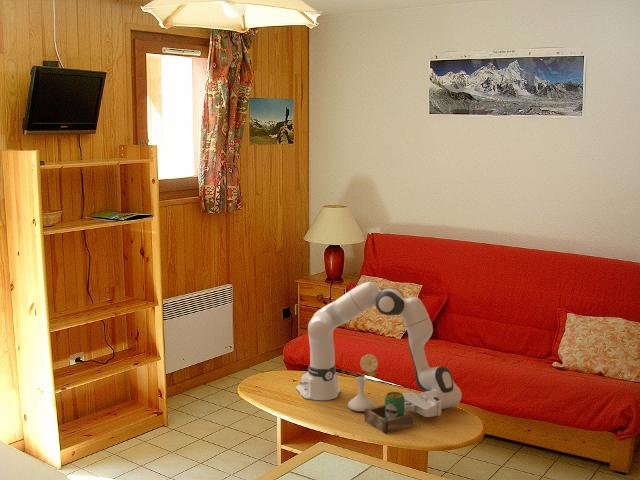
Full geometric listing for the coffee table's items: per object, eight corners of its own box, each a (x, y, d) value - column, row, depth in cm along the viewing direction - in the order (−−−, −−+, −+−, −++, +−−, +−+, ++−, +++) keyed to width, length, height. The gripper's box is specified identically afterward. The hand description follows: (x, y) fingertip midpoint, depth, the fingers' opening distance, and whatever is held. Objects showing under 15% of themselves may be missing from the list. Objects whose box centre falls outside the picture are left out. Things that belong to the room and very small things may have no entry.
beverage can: (381, 423, 316) (381, 396, 314) (390, 417, 322) (390, 390, 320) (399, 427, 311) (399, 399, 309) (407, 420, 318) (407, 393, 316)
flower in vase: (346, 413, 327) (346, 357, 323) (349, 403, 338) (349, 349, 334) (376, 414, 325) (377, 358, 321) (378, 404, 336) (379, 350, 332)
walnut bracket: (364, 420, 318) (364, 409, 318) (392, 414, 325) (392, 403, 324) (385, 433, 306) (385, 421, 305) (413, 426, 312) (413, 415, 312)
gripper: (413, 387, 333) (388, 393, 326) (443, 402, 316) (417, 408, 309) (413, 400, 334) (387, 406, 327) (443, 416, 317) (416, 423, 310)
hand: (402, 407), depth 318 cm, fingers closed, pressing on beverage can
